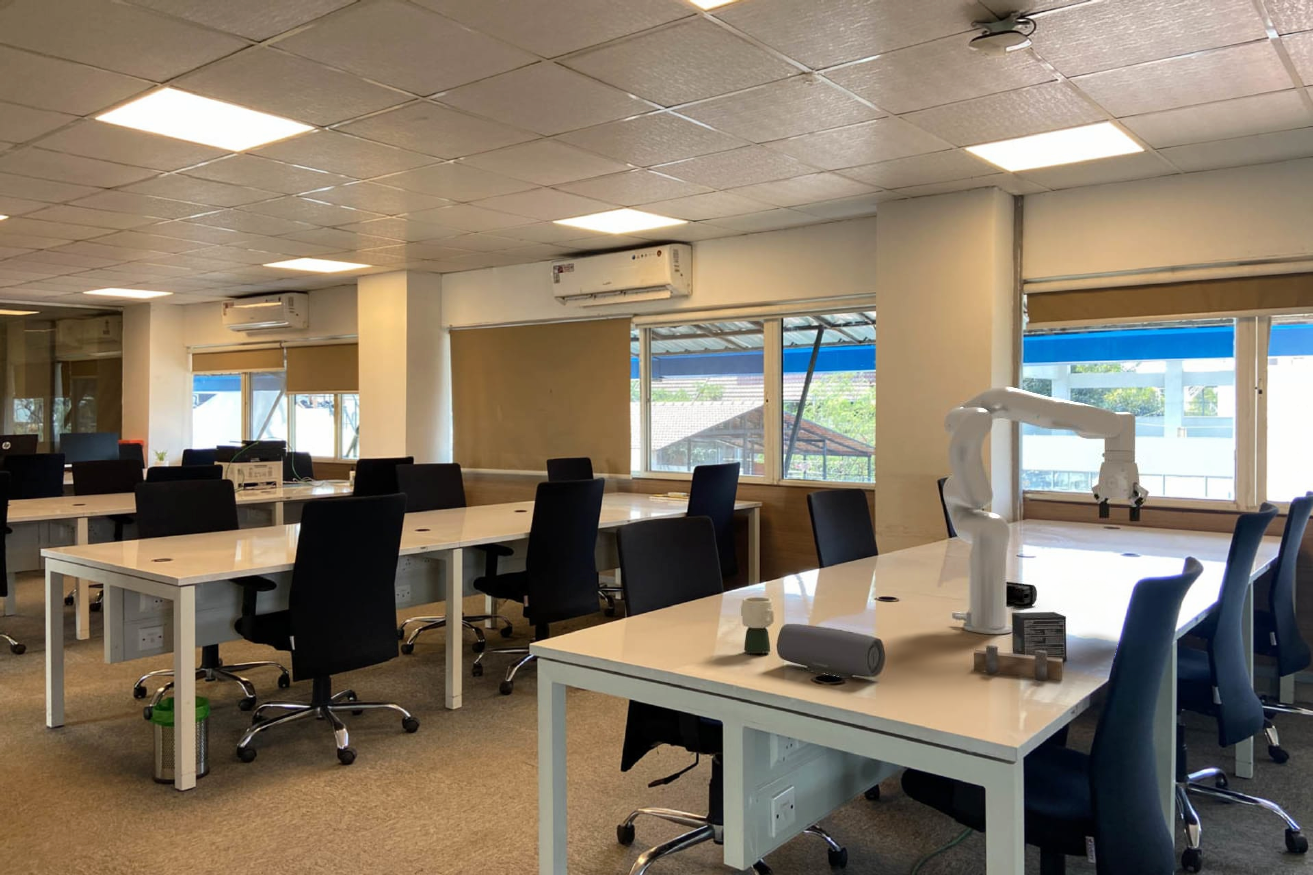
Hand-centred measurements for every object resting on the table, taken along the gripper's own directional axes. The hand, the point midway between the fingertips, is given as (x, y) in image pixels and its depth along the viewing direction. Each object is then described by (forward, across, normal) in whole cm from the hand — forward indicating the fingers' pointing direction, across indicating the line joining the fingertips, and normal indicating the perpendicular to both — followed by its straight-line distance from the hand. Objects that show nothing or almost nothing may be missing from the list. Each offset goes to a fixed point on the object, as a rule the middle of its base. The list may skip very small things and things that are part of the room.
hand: (1119, 519), depth 249 cm
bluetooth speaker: (+30, +10, -100) cm, 105 cm away
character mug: (+31, -12, -106) cm, 111 cm away
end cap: (+30, -34, -3) cm, 45 cm away
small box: (+30, +19, -48) cm, 59 cm away
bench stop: (+30, +28, -64) cm, 76 cm away
